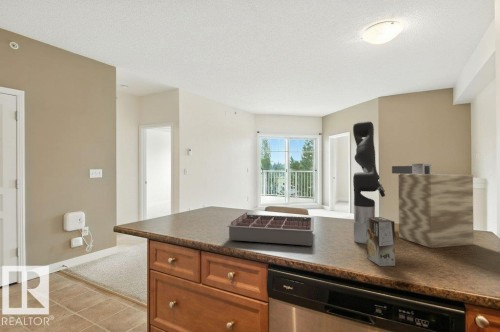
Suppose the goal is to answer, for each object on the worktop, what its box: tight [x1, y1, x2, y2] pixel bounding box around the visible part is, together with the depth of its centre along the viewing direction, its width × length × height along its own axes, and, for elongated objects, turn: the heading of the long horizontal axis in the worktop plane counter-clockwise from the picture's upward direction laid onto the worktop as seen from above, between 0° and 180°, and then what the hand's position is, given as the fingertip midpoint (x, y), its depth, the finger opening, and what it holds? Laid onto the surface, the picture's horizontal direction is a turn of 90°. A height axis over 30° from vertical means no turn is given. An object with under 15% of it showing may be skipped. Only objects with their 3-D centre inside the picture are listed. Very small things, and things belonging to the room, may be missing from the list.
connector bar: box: [391, 163, 432, 175], centre depth 130 cm, size 20×5×5 cm, turn 13°
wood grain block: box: [398, 173, 475, 249], centre depth 123 cm, size 18×24×32 cm
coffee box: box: [366, 216, 396, 267], centre depth 95 cm, size 9×6×16 cm
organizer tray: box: [226, 211, 315, 246], centre depth 131 cm, size 32×40×10 cm
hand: (380, 193), depth 150 cm, fingers open, 8 cm apart
